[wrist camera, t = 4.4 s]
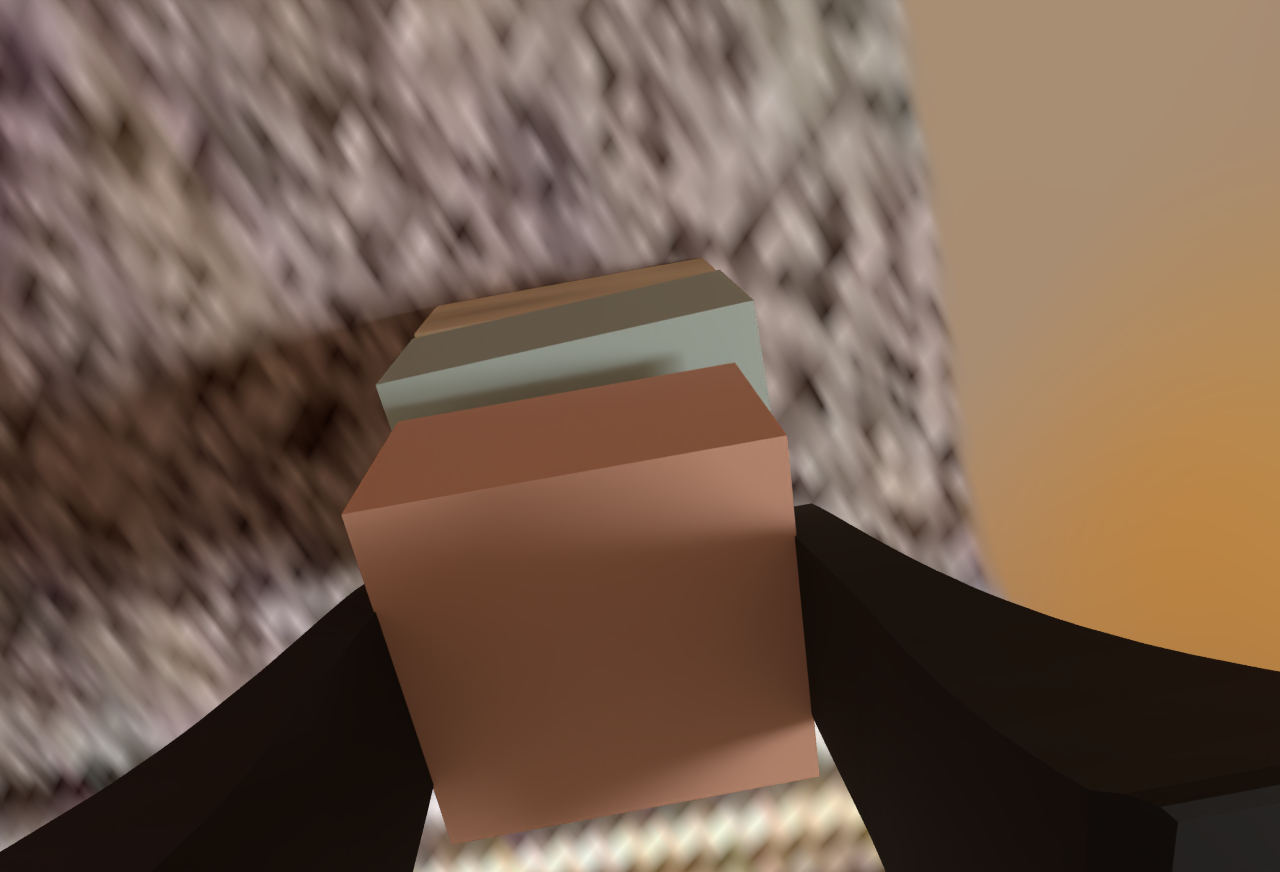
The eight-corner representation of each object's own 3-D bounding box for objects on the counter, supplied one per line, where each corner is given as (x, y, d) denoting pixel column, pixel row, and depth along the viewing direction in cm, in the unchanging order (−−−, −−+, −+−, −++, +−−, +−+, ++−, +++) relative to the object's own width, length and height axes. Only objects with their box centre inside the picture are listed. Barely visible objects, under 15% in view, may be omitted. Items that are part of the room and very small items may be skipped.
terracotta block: (768, 642, 13) (819, 776, 11) (477, 695, 13) (451, 845, 10) (734, 361, 12) (786, 435, 9) (397, 421, 11) (341, 514, 9)
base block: (732, 491, 20) (758, 549, 17) (499, 535, 20) (488, 599, 17) (700, 255, 18) (723, 277, 15) (439, 303, 18) (413, 334, 15)
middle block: (765, 540, 17) (803, 619, 14) (497, 600, 17) (482, 691, 14) (719, 269, 15) (753, 300, 12) (412, 338, 15) (375, 384, 12)
